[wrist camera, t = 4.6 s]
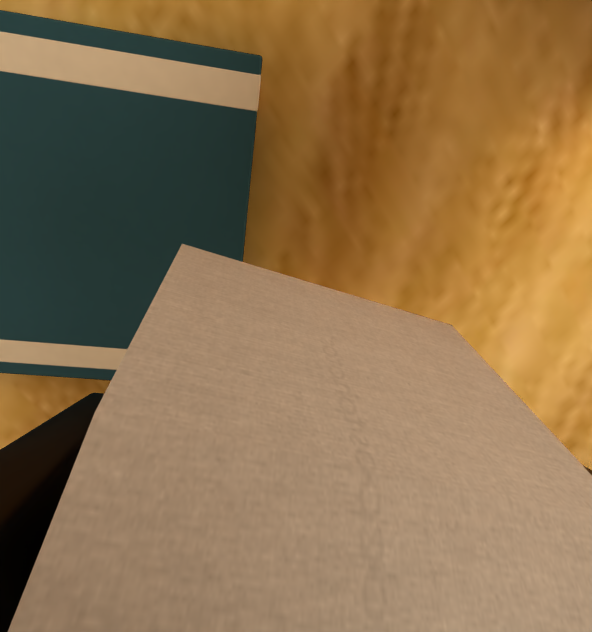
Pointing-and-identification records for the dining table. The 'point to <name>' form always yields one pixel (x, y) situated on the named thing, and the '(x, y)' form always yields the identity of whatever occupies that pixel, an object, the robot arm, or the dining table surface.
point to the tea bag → (310, 477)
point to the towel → (110, 182)
